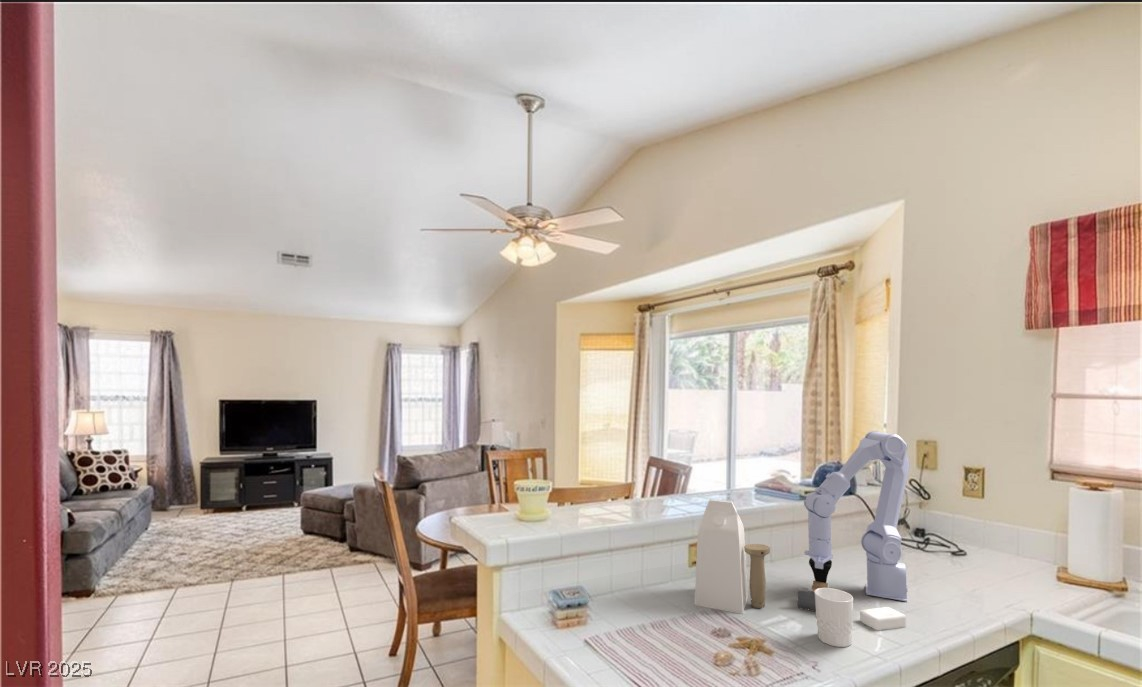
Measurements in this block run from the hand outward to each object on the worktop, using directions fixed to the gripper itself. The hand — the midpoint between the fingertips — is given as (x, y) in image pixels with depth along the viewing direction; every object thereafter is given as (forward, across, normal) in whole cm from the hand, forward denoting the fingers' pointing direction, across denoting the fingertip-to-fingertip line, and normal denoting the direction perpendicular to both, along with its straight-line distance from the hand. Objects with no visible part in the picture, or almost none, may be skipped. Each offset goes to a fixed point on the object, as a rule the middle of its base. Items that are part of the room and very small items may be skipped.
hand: (820, 587), depth 145 cm
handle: (+2, +18, -14) cm, 23 cm away
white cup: (+2, +28, +4) cm, 28 cm away
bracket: (+1, +10, 0) cm, 10 cm away
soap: (+2, +13, +14) cm, 19 cm away
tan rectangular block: (+2, +6, 0) cm, 7 cm away
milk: (+2, +19, -23) cm, 30 cm away
